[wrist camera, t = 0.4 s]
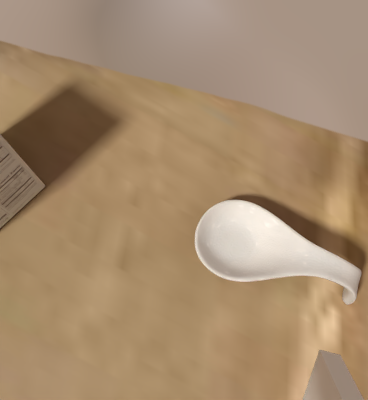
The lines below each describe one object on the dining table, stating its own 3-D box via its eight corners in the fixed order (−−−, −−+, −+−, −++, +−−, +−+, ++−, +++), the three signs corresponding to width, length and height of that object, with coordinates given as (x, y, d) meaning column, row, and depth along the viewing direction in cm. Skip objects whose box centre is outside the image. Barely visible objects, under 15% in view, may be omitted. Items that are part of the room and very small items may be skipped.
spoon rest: (182, 267, 49) (183, 257, 43) (209, 197, 53) (213, 178, 47) (343, 328, 46) (371, 328, 40) (358, 250, 51) (385, 237, 44)
